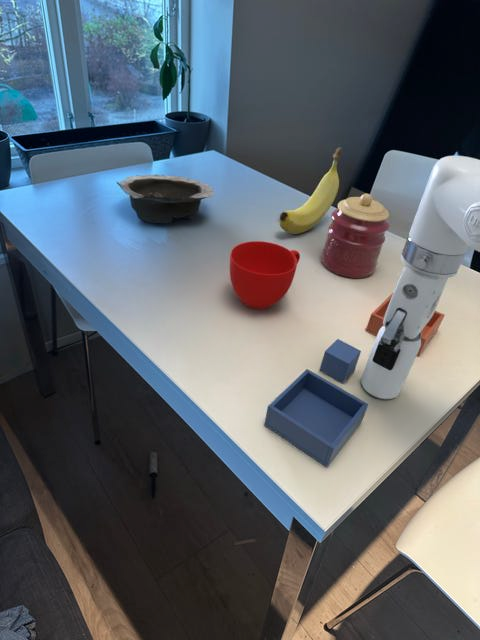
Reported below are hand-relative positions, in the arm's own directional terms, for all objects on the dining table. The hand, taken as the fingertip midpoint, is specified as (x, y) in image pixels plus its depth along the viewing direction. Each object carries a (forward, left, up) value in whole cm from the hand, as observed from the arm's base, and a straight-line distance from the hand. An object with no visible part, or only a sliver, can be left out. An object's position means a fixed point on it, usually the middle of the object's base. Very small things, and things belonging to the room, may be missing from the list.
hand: (392, 352), depth 71 cm
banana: (+41, -42, -7) cm, 59 cm away
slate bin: (+4, +15, -7) cm, 17 cm away
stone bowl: (+72, -21, -7) cm, 75 cm away
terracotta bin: (+3, -17, -7) cm, 19 cm away
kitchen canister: (+23, -33, -7) cm, 41 cm away
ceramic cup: (+29, -7, -7) cm, 31 cm away
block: (+7, +2, -7) cm, 10 cm away
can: (0, +1, -7) cm, 7 cm away
